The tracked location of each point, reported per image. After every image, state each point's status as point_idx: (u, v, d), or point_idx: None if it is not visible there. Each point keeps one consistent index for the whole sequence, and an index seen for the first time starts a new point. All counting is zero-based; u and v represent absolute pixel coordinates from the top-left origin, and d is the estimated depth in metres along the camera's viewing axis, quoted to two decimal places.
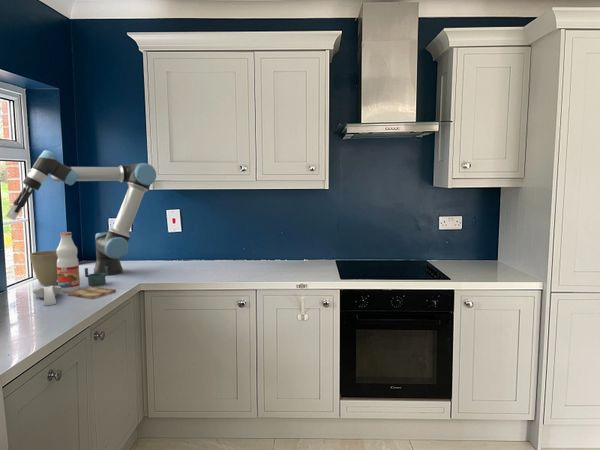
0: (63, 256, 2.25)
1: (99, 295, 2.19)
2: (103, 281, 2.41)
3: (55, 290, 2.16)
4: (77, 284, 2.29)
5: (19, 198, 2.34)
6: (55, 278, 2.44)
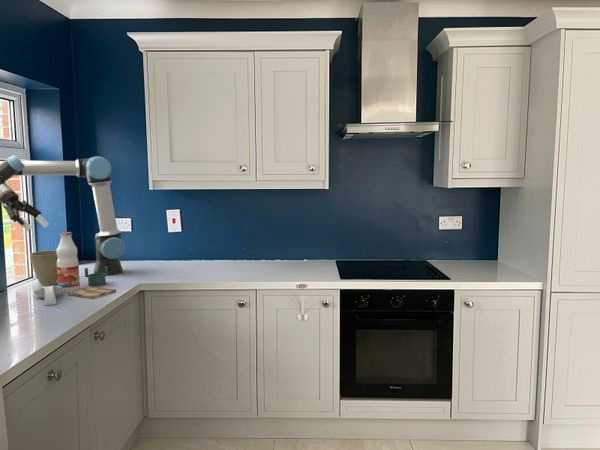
0: (63, 256, 2.25)
1: (99, 295, 2.19)
2: (103, 281, 2.41)
3: (55, 290, 2.16)
4: (77, 284, 2.29)
5: (27, 212, 2.32)
6: (55, 278, 2.44)
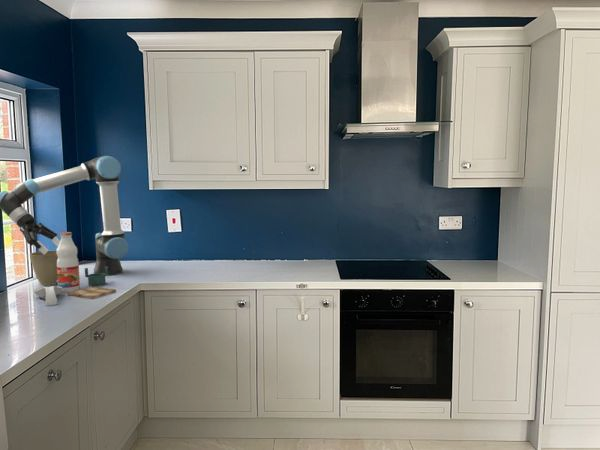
0: (63, 256, 2.25)
1: (99, 295, 2.19)
2: (103, 281, 2.41)
3: (56, 290, 2.16)
4: (77, 284, 2.29)
5: (44, 234, 2.33)
6: (55, 278, 2.44)
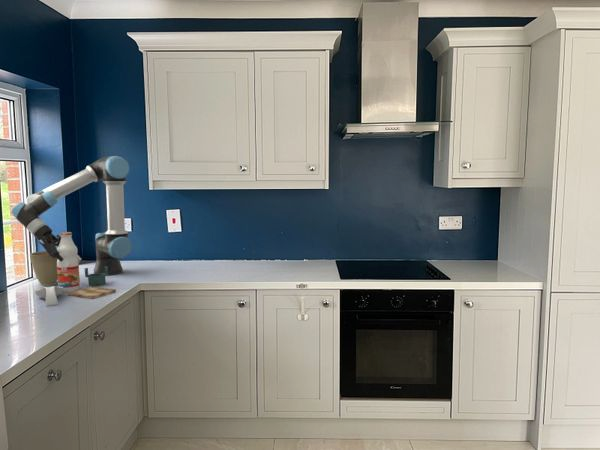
0: None
1: (99, 295, 2.19)
2: (103, 281, 2.41)
3: (56, 291, 2.16)
4: (77, 284, 2.29)
5: None
6: (55, 278, 2.44)
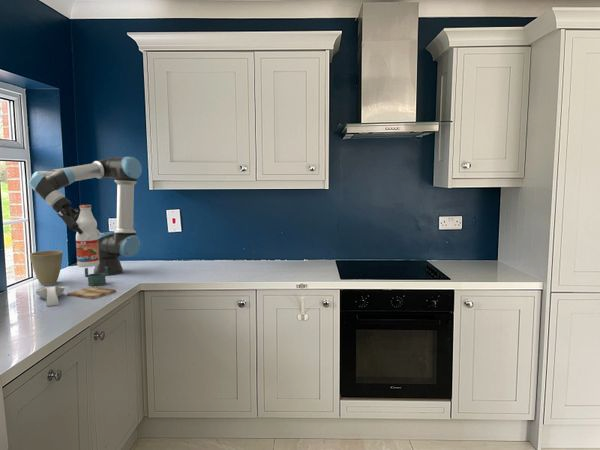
0: None
1: (99, 295, 2.19)
2: (103, 281, 2.41)
3: (58, 291, 2.16)
4: (96, 259, 2.21)
5: None
6: (55, 278, 2.44)
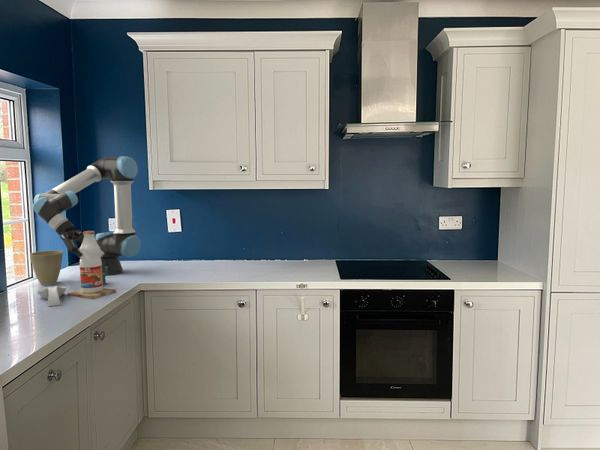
0: None
1: (99, 295, 2.19)
2: (103, 281, 2.41)
3: (59, 291, 2.15)
4: (100, 285, 2.23)
5: None
6: (55, 278, 2.44)
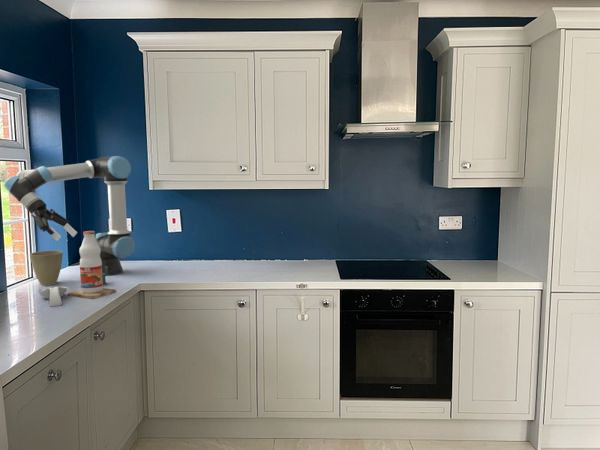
0: (86, 255, 2.18)
1: (99, 295, 2.19)
2: (103, 281, 2.41)
3: (60, 291, 2.15)
4: (100, 285, 2.23)
5: (55, 221, 2.26)
6: (55, 278, 2.44)
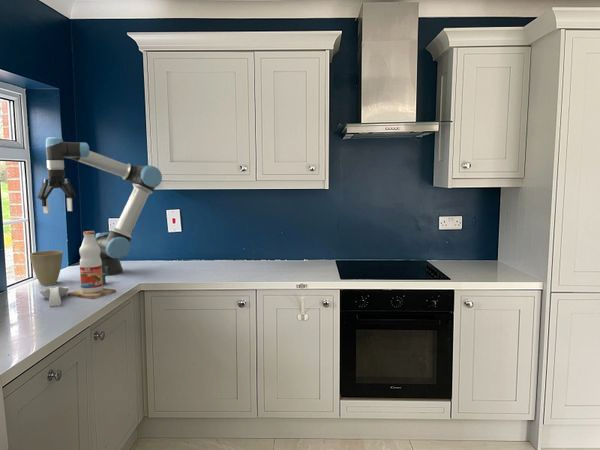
0: (86, 255, 2.18)
1: (99, 295, 2.19)
2: (103, 281, 2.41)
3: (61, 291, 2.15)
4: (100, 285, 2.23)
5: (63, 191, 2.43)
6: (55, 278, 2.44)
